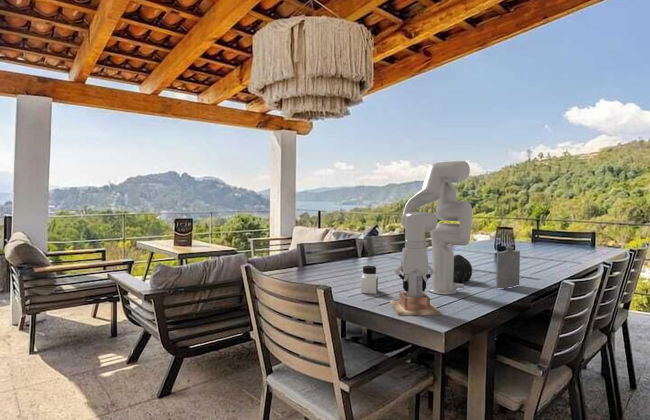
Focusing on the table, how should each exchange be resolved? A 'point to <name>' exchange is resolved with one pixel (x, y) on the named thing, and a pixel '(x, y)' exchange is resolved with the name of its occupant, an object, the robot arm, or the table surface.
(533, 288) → the table surface
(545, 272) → the table surface
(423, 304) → the can sleeve stand
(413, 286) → the energy drink can
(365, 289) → the medicine bottle
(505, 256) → the grey tall flat block
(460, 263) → the squash
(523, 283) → the table surface
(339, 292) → the table surface
